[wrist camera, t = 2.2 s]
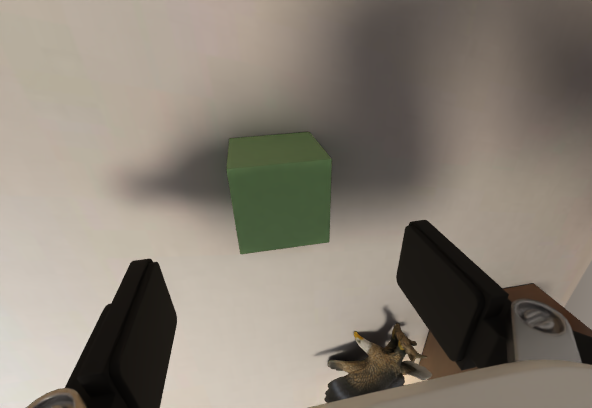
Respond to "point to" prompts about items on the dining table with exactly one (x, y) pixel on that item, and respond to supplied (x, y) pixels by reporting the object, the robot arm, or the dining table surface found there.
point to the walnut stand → (436, 356)
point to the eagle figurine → (376, 368)
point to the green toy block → (279, 191)
